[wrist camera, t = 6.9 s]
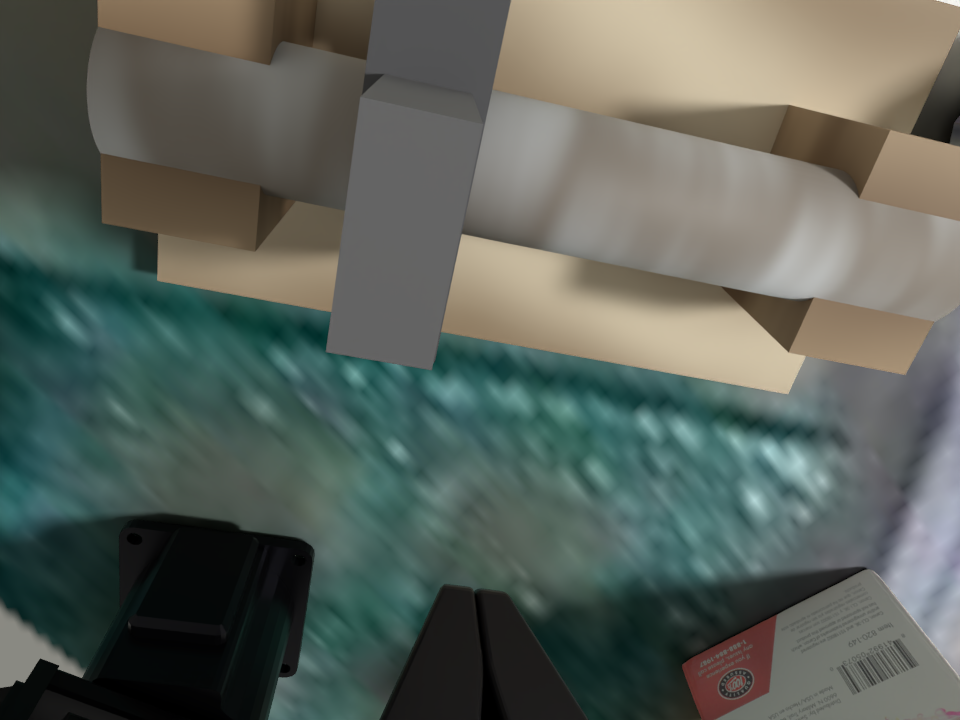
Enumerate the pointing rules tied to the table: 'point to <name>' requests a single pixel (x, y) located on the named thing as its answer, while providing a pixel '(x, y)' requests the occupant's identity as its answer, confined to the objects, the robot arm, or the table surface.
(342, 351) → the collar
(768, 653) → the ink cartridge box
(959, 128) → the grey piece
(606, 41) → the pipe stand
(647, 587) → the table surface
